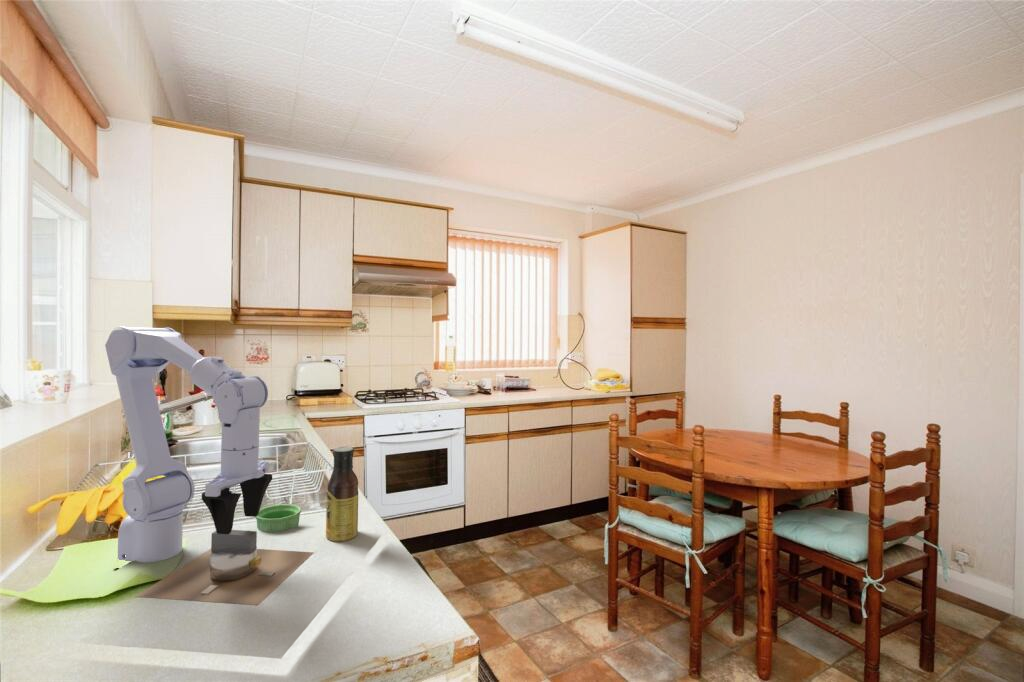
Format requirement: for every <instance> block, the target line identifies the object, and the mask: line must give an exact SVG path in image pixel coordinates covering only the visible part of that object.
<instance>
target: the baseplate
mask: <svg viewBox="0 0 1024 682" xmlns="http://www.w3.org/2000/svg"><path fill="white" fill-rule="evenodd" d="M314 553H315V552H314V551H313V552H312V551H299V550H297V551H296V550H295V551H294V550H282V549H268V548H267V549H266V548H257V556H260V557H261V564H260V565H259V566H257V567H256V569H255V570H254V571H253V572H252V573H250V574H249V575H247V576H244V577H242V578H238V579H234V580H228V581H217V580H214V579H212V578H211V577H210V554H211V548H209V549H208V550H206V551H205V552H203V553H201V554H200V555H198V556H197V557H195V558H193V559H192V560H190V561H189V562H188V563H186V564H184V565H183V566H181V567H179V568H178V569H175V570H174V571H173V572H172V573H170V574H168V575H166V576H165V577H164V578H162V579H161V580H159V581H157V582H156V583H154V584H153V585H150V587H148V588H147V589H144V590H143V591H142V592H140V593H138V594H137V595H135V598H149V599H150V598H151V599H163V600H174V601H188V602H189V601H191V602H192V601H193V602H204V603H218V604H234V605H246V606H259V605H260V604H261V603H262V602H263V601H264V600H265V599H267V597H268V596H270V595H271V593H273V592H274V591H275V590H276V589H277V588H278V587H279V586H280V585H281V584H282V583H284V581H285V580H286V579H288V577H290V576H291V575H292V574H293V573H294V572H295V571H296V570H297V569H298V568H299V567H300V566H302V564H304V562H306V561H307V560H308V559H309V558H310V557H311V556H312V555H313V554H314Z"/></svg>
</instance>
